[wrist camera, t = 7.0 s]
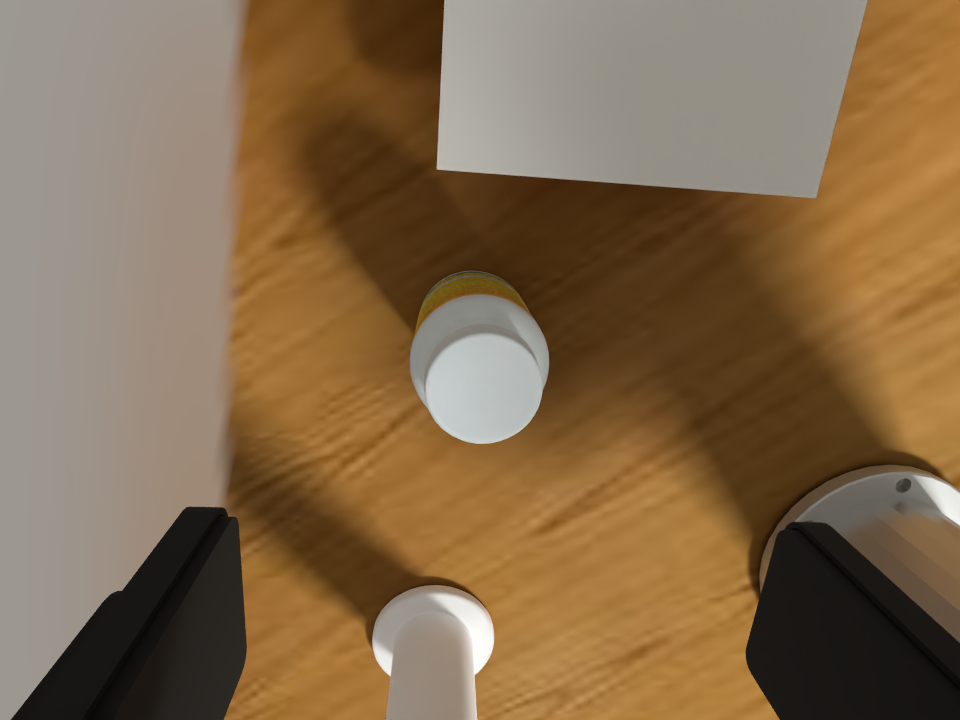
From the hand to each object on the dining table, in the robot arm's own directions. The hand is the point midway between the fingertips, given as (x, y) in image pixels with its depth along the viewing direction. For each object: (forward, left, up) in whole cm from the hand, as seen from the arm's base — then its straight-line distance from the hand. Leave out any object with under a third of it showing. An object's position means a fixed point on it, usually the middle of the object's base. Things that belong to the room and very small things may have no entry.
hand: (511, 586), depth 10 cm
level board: (+17, -5, -14) cm, 23 cm away
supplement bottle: (0, 0, -20) cm, 20 cm away
